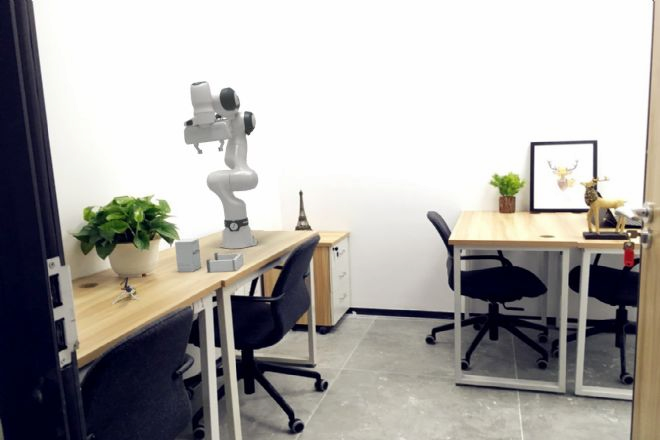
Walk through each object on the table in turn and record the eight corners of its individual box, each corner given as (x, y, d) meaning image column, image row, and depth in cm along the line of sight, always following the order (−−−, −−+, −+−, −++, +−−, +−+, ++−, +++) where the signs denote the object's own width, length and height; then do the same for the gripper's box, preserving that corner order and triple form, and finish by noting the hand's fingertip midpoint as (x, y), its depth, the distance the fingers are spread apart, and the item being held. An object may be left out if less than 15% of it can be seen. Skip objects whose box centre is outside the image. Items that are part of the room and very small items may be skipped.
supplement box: (193, 271, 203) (190, 241, 201) (177, 272, 204) (174, 241, 203) (202, 267, 210) (199, 238, 208) (186, 267, 212) (182, 238, 210)
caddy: (216, 264, 213) (215, 252, 213) (243, 263, 213) (242, 251, 212) (207, 272, 200) (206, 259, 199) (236, 270, 200) (235, 258, 199)
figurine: (147, 311, 177) (129, 313, 158) (123, 304, 177) (102, 306, 157) (156, 283, 179) (139, 282, 159) (133, 276, 179) (113, 274, 159)
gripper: (230, 117, 214) (235, 149, 216) (186, 123, 217) (191, 155, 219) (225, 117, 208) (231, 150, 210) (180, 123, 211) (185, 155, 213)
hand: (210, 152), depth 215 cm, fingers open, 8 cm apart
